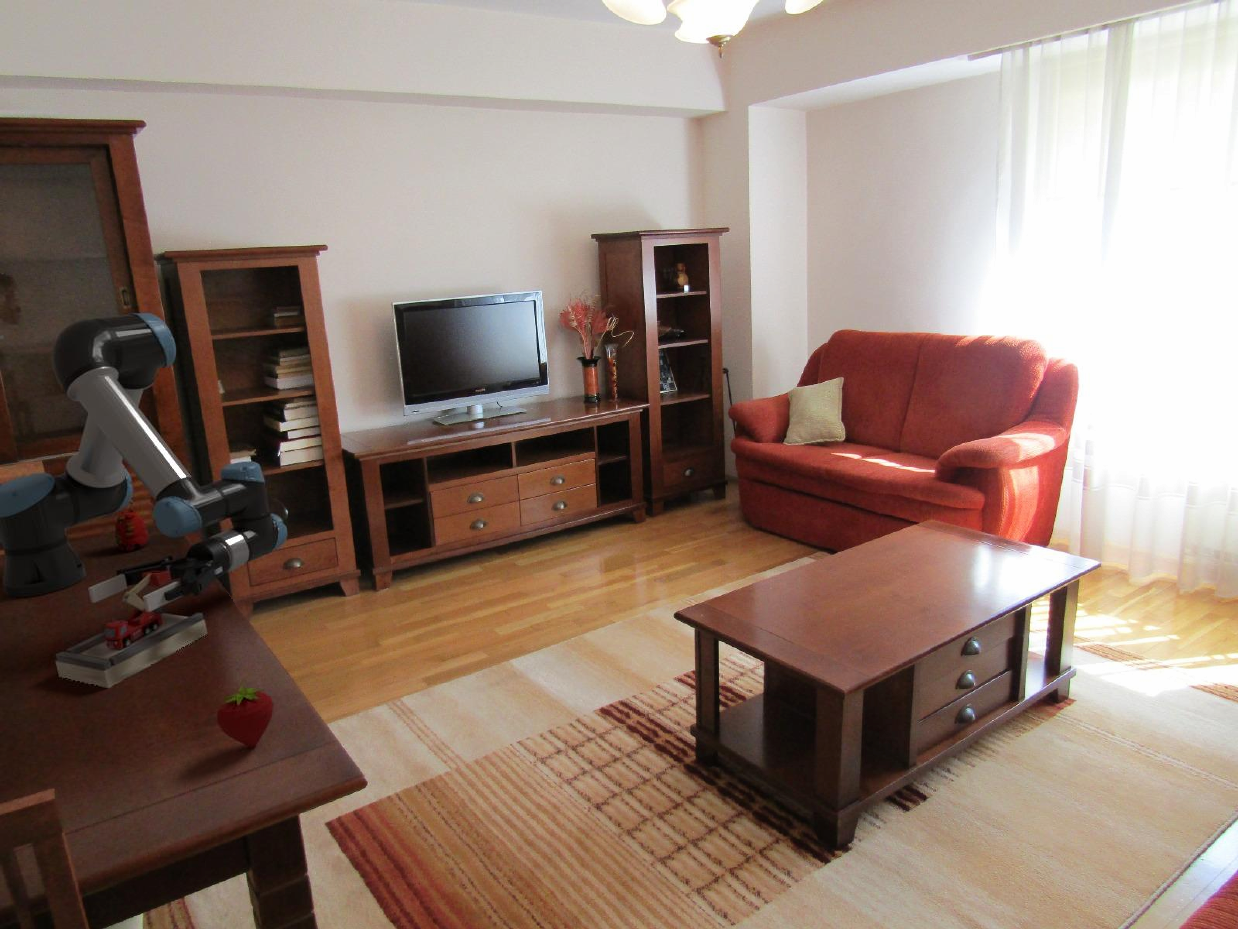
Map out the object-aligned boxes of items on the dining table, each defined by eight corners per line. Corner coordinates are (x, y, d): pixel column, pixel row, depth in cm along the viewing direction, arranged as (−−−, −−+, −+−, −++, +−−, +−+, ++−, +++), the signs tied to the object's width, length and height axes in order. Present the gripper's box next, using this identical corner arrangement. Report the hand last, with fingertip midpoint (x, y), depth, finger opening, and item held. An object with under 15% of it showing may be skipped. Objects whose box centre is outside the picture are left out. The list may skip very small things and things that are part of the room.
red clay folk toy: (113, 548, 211) (99, 489, 207) (143, 540, 216) (130, 481, 212) (125, 554, 206) (112, 494, 202) (156, 545, 211) (143, 486, 207)
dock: (160, 626, 165) (156, 606, 164) (207, 634, 160) (203, 613, 159) (59, 677, 147) (53, 655, 146) (108, 688, 142) (103, 665, 141)
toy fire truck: (104, 650, 149) (91, 598, 146) (165, 616, 162) (154, 567, 159) (120, 652, 148) (107, 599, 145) (179, 617, 161) (169, 568, 158)
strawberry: (217, 748, 123) (204, 684, 120) (271, 727, 128) (259, 665, 125) (231, 766, 119) (218, 700, 116) (286, 743, 123) (274, 679, 121)
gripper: (269, 580, 165) (174, 628, 146) (174, 567, 174) (74, 611, 156) (262, 542, 163) (165, 587, 144) (167, 532, 172) (64, 572, 154)
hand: (117, 599), depth 150 cm, fingers open, 13 cm apart
